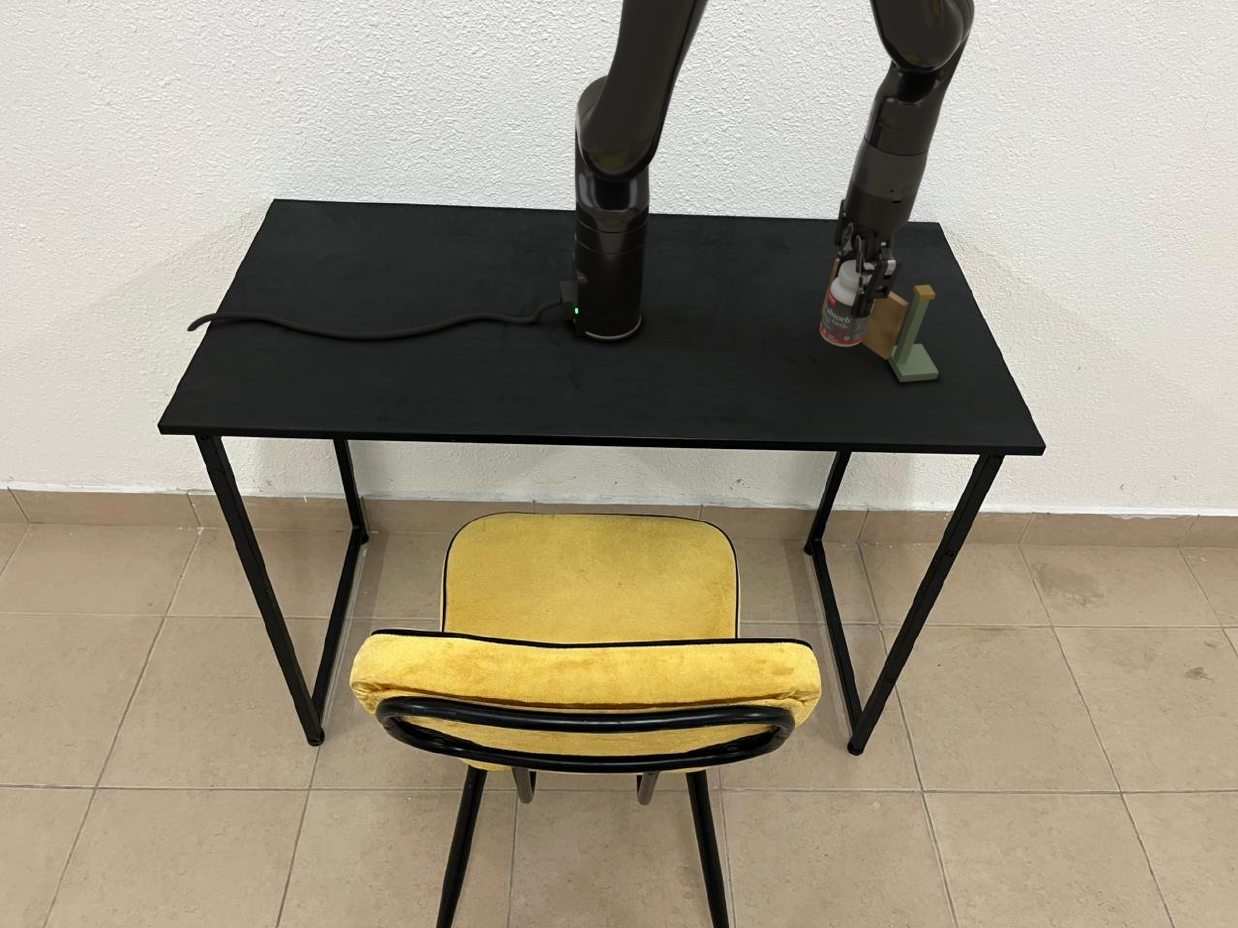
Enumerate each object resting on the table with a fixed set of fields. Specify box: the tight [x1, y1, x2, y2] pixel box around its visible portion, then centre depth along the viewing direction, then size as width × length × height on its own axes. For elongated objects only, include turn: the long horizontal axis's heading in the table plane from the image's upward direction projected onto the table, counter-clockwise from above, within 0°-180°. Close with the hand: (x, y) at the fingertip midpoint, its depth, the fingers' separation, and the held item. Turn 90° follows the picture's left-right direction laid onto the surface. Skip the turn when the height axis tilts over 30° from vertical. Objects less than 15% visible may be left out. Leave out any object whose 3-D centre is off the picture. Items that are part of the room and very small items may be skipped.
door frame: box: [887, 284, 940, 383], centre depth 119 cm, size 5×6×13 cm
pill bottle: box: [819, 260, 876, 348], centre depth 114 cm, size 6×6×10 cm
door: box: [820, 258, 910, 361], centre depth 122 cm, size 12×2×9 cm, turn 38°
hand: (850, 299), depth 113 cm, fingers closed on pill bottle, 5 cm apart
